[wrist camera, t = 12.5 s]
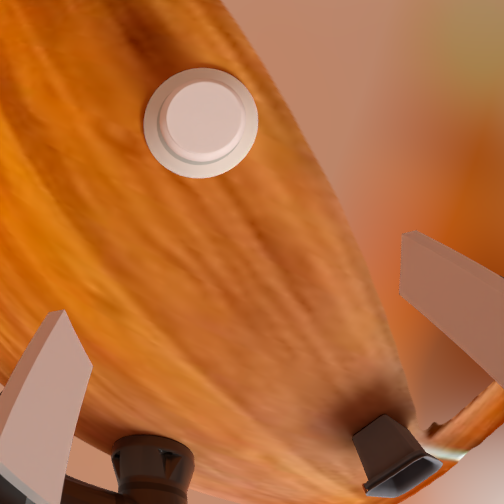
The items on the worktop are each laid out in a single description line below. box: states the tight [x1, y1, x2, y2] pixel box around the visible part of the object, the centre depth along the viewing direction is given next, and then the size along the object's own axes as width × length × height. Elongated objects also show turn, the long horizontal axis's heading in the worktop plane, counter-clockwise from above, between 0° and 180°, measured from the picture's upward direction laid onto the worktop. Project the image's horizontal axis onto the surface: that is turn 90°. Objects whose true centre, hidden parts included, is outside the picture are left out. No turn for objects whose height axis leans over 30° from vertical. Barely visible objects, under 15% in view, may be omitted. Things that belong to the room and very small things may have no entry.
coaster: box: [144, 68, 258, 178], centre depth 28 cm, size 11×11×1 cm
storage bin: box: [353, 415, 443, 498], centre depth 49 cm, size 21×16×14 cm
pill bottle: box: [159, 78, 246, 162], centre depth 22 cm, size 6×6×11 cm
